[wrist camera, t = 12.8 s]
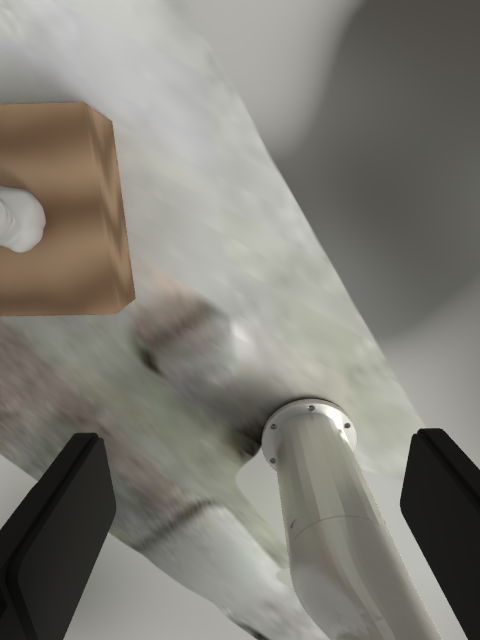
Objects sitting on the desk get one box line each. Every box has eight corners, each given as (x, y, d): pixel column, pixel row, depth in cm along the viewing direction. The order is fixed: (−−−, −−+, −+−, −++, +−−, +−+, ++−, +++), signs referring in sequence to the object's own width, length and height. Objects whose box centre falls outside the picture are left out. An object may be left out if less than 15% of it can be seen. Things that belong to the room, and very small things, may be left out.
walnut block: (135, 298, 37) (116, 314, 32) (16, 300, 38) (-24, 316, 32) (111, 121, 31) (83, 101, 26) (-29, 125, 32) (-88, 106, 26)
